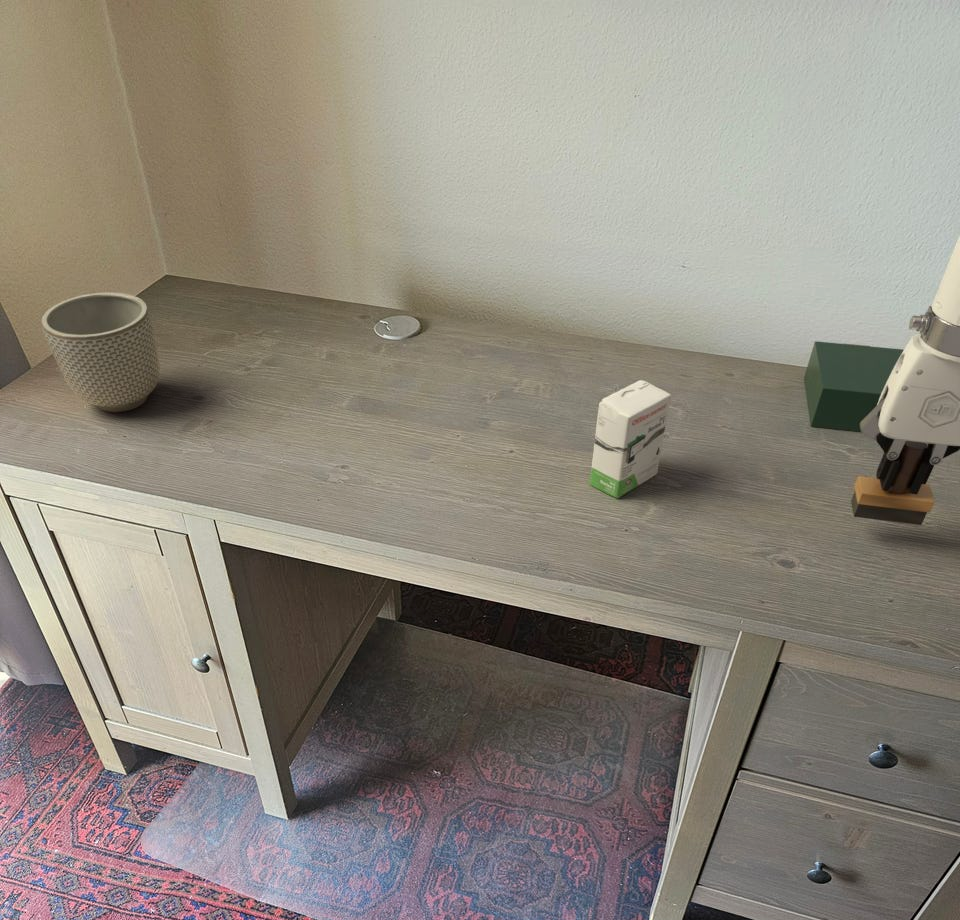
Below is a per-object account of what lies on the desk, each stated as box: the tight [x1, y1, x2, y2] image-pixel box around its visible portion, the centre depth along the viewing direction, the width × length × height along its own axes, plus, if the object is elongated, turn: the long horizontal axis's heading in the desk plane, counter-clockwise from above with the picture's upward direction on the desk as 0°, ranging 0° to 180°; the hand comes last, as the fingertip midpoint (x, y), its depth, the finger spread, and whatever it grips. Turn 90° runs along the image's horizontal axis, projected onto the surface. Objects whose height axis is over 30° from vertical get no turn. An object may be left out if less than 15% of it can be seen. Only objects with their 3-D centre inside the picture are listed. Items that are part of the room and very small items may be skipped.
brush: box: [850, 441, 936, 526], centre depth 98 cm, size 8×4×10 cm, turn 79°
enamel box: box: [803, 341, 904, 433], centre depth 123 cm, size 14×14×6 cm
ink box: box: [589, 379, 672, 499], centre depth 108 cm, size 9×5×12 cm, turn 134°
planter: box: [40, 291, 161, 413], centre depth 120 cm, size 14×14×13 cm
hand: (897, 484), depth 98 cm, fingers closed on brush, 2 cm apart
